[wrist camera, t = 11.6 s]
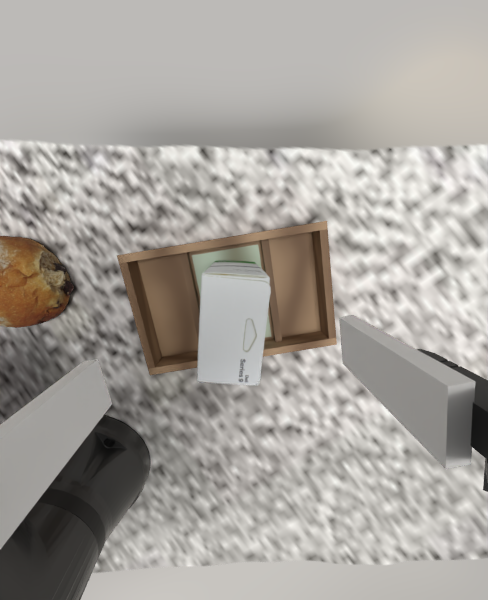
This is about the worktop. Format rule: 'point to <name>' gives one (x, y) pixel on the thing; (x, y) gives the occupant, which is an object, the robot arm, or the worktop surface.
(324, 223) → the tray
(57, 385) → the robot arm
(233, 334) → the ink box
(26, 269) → the bread roll
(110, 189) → the worktop surface
